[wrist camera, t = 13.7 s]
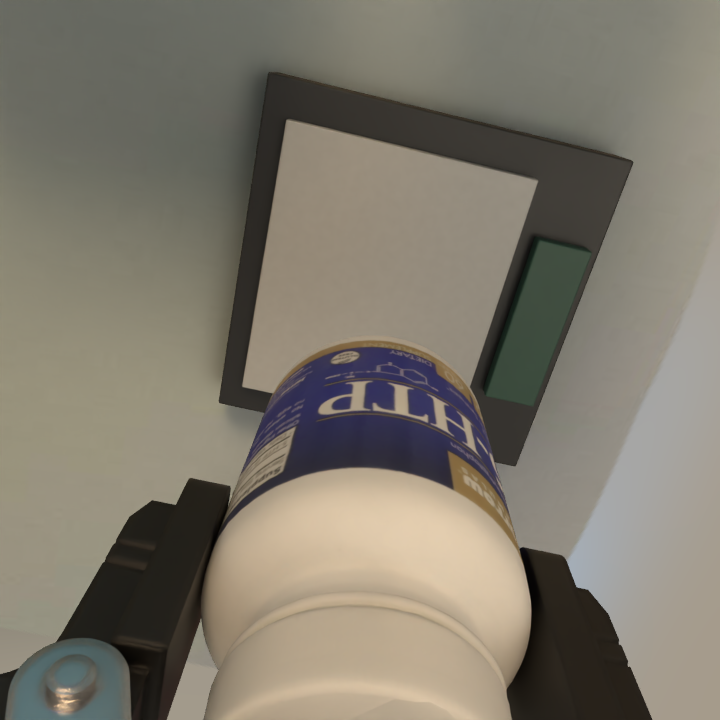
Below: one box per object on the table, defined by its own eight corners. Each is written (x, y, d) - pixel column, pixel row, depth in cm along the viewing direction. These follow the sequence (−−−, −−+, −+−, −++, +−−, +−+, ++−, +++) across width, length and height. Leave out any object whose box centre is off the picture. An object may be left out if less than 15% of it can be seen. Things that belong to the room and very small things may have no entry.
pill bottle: (522, 386, 15) (685, 750, 7) (418, 544, 17) (448, 970, 9) (317, 290, 14) (228, 572, 6) (233, 467, 16) (81, 857, 8)
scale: (228, 383, 31) (214, 410, 28) (276, 72, 25) (264, 71, 22) (508, 444, 31) (518, 476, 29) (617, 155, 26) (641, 163, 23)
